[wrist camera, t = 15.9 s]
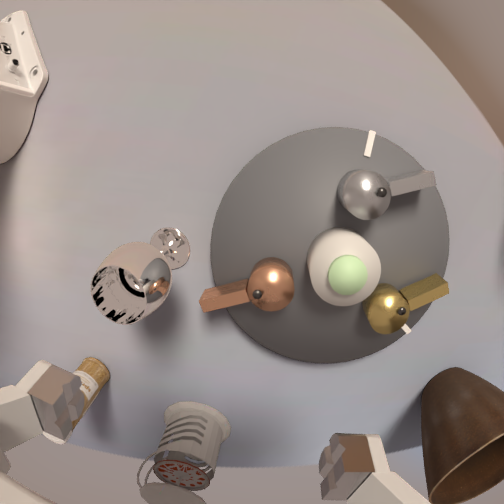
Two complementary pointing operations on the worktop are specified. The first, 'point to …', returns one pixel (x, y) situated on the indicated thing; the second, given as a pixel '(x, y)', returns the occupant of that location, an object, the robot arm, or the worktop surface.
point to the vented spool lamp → (186, 453)
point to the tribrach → (326, 242)
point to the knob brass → (400, 302)
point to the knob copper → (255, 288)
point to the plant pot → (461, 436)
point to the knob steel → (377, 190)
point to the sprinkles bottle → (87, 388)
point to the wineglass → (138, 276)
